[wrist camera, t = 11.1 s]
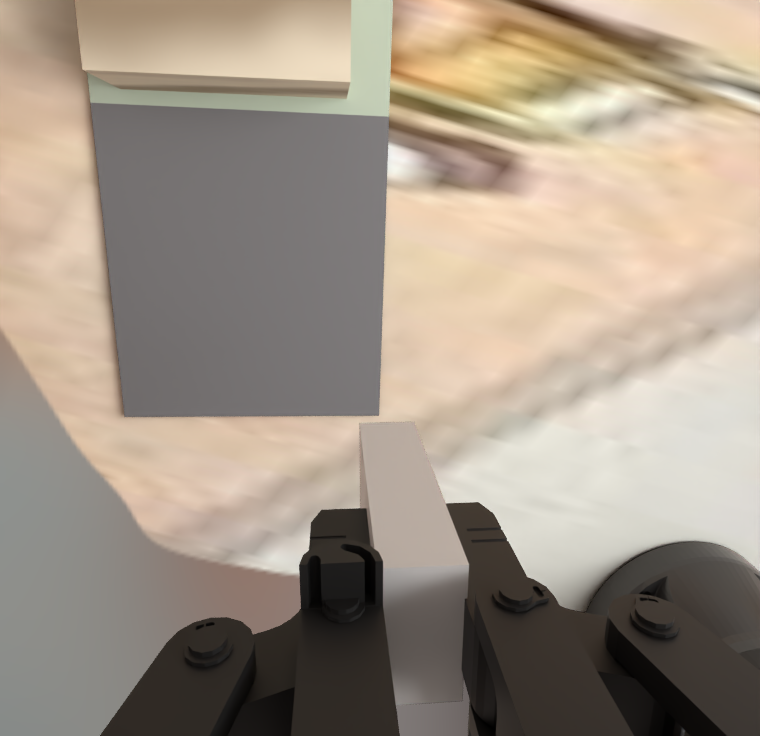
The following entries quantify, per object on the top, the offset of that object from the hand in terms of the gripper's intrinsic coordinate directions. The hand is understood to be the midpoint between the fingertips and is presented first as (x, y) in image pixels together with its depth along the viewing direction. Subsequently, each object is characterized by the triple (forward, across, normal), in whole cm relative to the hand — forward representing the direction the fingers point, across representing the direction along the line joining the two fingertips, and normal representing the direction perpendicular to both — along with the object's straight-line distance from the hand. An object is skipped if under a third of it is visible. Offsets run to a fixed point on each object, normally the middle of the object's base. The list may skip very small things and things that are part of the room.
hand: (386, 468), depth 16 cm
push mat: (+20, +6, -12) cm, 24 cm away
